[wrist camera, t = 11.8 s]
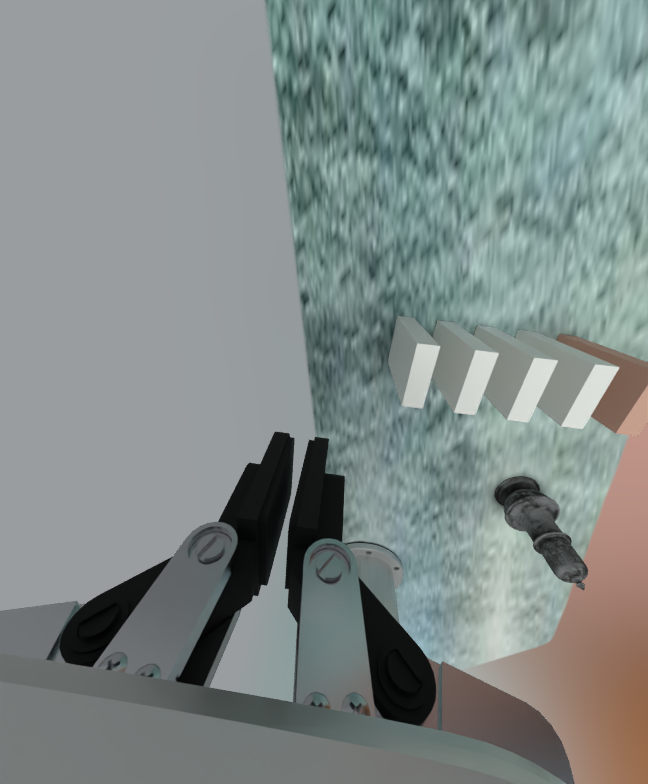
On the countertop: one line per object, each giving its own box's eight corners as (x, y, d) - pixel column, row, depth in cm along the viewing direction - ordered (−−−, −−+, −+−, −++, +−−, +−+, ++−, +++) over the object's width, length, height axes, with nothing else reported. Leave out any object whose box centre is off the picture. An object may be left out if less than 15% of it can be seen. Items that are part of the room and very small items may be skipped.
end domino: (553, 382, 30) (637, 436, 21) (537, 380, 30) (615, 433, 21) (576, 336, 28) (681, 374, 19) (559, 334, 28) (656, 371, 19)
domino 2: (439, 368, 31) (475, 415, 22) (424, 366, 31) (453, 412, 22) (453, 322, 28) (499, 353, 19) (437, 320, 28) (475, 350, 19)
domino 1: (402, 363, 31) (422, 408, 22) (387, 362, 31) (401, 405, 22) (413, 317, 29) (440, 346, 20) (397, 315, 29) (417, 343, 20)
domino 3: (476, 373, 30) (528, 422, 21) (461, 371, 30) (506, 419, 22) (493, 327, 28) (558, 360, 19) (477, 325, 28) (534, 357, 19)
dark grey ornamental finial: (485, 486, 37) (539, 580, 26) (532, 467, 35) (611, 562, 24) (502, 514, 39) (559, 613, 28) (548, 498, 37) (628, 598, 26)
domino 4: (514, 377, 30) (582, 429, 21) (499, 375, 30) (561, 426, 21) (534, 331, 28) (620, 367, 19) (518, 329, 28) (595, 364, 19)
